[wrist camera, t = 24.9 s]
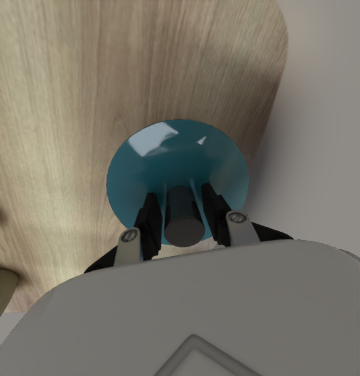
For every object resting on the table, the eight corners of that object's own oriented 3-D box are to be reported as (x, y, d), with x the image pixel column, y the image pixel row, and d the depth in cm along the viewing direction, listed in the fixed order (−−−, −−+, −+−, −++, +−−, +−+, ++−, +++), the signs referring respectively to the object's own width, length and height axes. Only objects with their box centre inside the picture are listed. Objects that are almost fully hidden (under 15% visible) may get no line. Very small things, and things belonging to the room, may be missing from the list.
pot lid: (249, 105, 10) (322, 91, 5) (239, 228, 17) (268, 273, 12) (84, 135, 10) (6, 147, 6) (136, 245, 17) (122, 297, 12)
